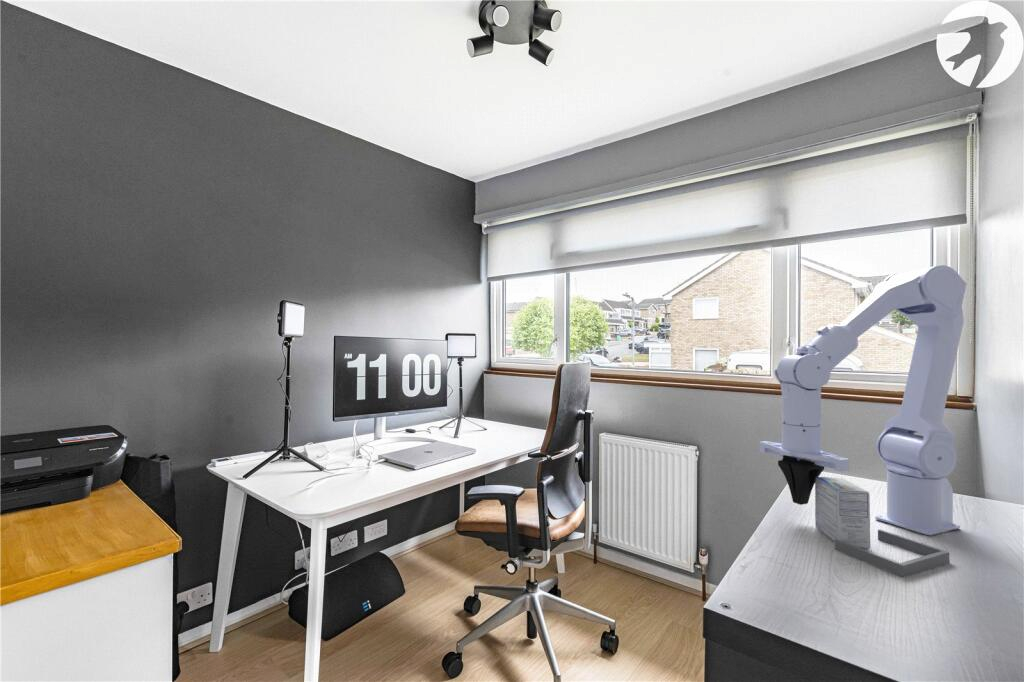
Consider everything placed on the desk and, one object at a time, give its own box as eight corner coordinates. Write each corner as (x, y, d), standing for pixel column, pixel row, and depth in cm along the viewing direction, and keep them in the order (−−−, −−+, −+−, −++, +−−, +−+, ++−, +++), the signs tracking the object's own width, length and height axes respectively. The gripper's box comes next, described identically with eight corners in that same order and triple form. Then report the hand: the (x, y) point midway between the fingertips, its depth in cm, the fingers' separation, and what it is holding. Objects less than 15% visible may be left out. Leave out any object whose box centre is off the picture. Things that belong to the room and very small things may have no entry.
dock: (880, 538, 72) (880, 529, 72) (949, 562, 64) (949, 552, 64) (834, 549, 68) (834, 539, 68) (902, 577, 60) (902, 565, 60)
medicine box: (871, 550, 68) (871, 492, 68) (837, 547, 69) (838, 489, 69) (844, 529, 75) (844, 477, 76) (814, 527, 76) (814, 475, 76)
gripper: (748, 418, 84) (747, 492, 83) (828, 432, 70) (828, 520, 70) (774, 417, 86) (774, 488, 86) (857, 430, 73) (857, 515, 73)
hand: (800, 502), depth 78 cm, fingers closed
